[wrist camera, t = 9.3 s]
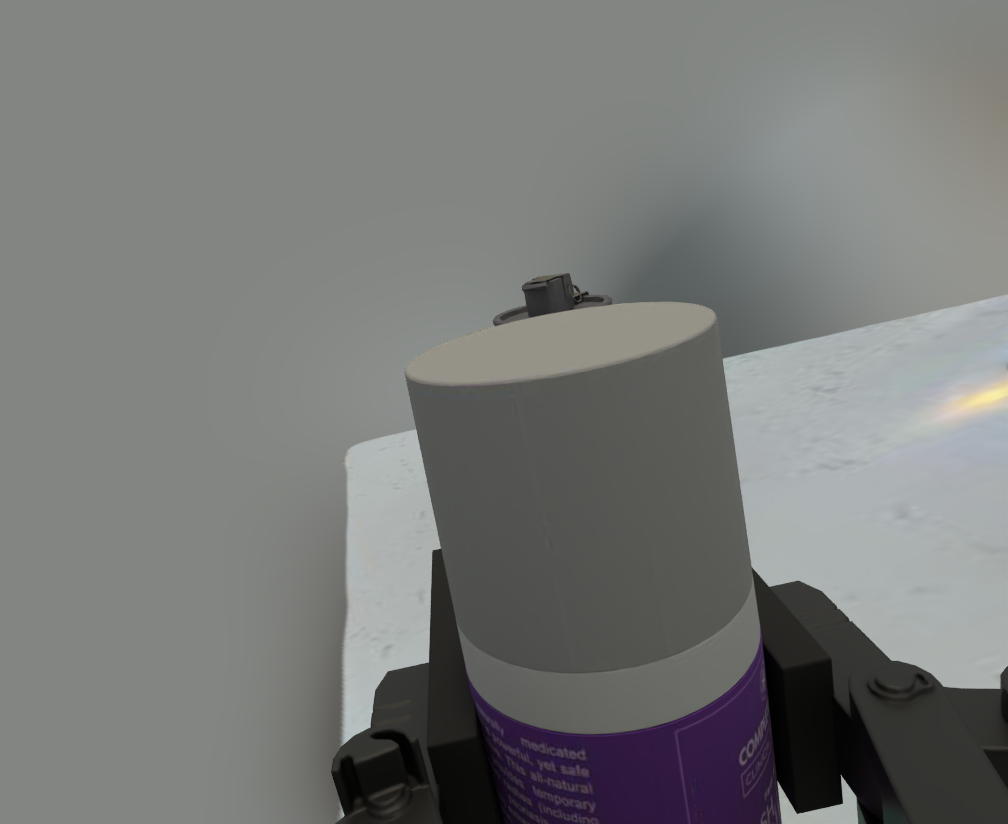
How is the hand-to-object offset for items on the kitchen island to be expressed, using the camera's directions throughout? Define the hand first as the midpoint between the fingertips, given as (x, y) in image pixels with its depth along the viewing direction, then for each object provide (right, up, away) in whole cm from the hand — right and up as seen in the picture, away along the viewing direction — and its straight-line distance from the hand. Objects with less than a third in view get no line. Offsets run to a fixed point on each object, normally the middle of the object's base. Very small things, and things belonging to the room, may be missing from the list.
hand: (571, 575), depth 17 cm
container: (+2, -9, -3) cm, 10 cm away
